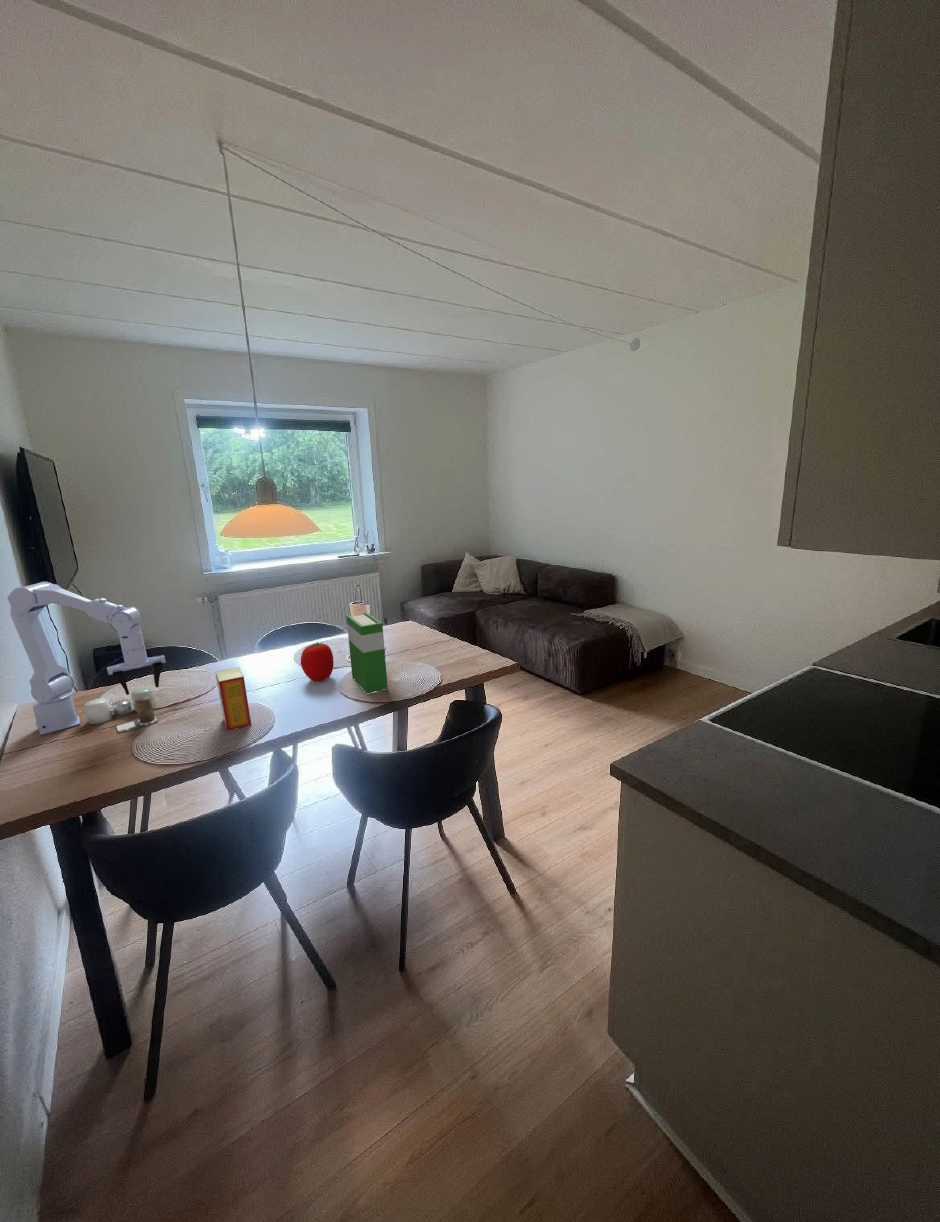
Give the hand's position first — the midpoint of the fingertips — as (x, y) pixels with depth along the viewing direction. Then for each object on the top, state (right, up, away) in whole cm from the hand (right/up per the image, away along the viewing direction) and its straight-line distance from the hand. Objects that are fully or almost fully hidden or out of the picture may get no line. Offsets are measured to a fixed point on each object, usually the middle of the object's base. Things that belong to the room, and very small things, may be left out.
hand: (142, 690), depth 149 cm
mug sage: (-7, -8, +11) cm, 15 cm away
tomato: (+45, -1, +30) cm, 54 cm away
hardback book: (+64, -2, +25) cm, 69 cm away
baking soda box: (+29, -10, -1) cm, 31 cm away
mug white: (-16, -10, +4) cm, 19 cm away
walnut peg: (0, -10, +2) cm, 10 cm away
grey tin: (-12, -9, +8) cm, 17 cm away
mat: (-2, -10, 0) cm, 11 cm away
